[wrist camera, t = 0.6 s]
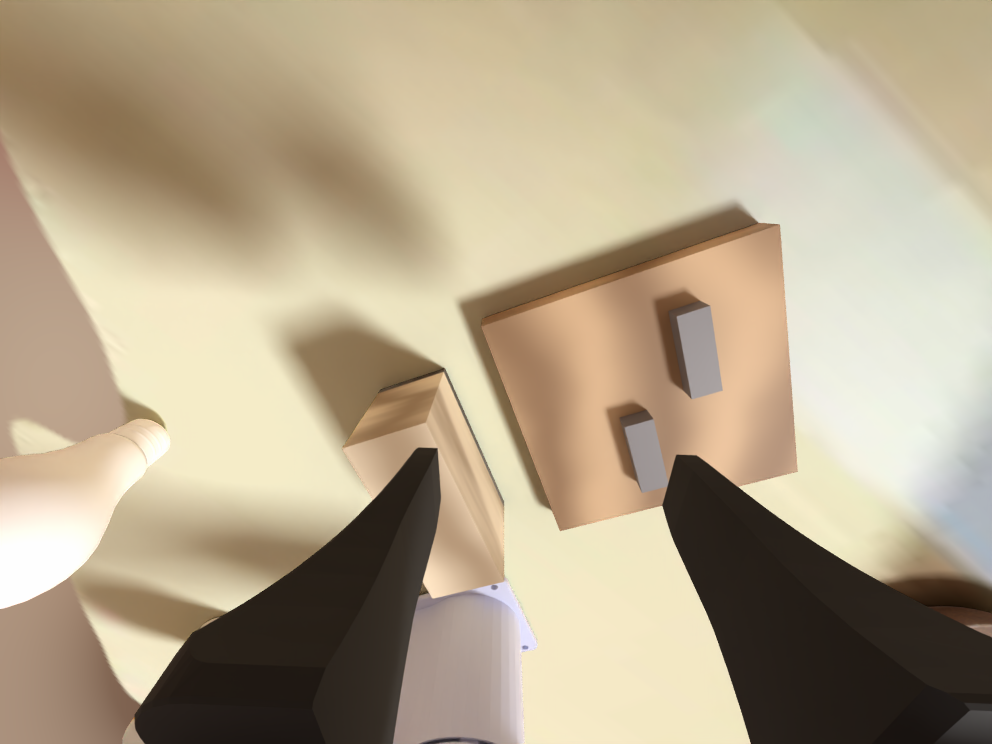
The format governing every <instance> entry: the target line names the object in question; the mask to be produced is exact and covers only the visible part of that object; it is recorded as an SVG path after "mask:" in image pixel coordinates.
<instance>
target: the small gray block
mask: <svg viewBox="0 0 992 744" xmlns="http://www.w3.org/2000/svg"><path fill="white" fill-rule="evenodd" d="M620 422H621V426H622V430H623V433H624V437H625V441H626V444H627V448H628V452H629V456H630V459H631V463H632V467H633V470H634V474H635V478H636V482H637V484H638V486H639V488H640V490H641V492H642V493H644V492H648V491H652V490H656V489H660V488H664V487H667V486H668V479H667V475H666V471H665V466H664V462H663V458H662V453H661V449H660V445H659V440H658V436H657V432H656V427H655V423H654V419H653V418H652V416H651V415H650V413H649V412H648V410H644V411H641V412H637V413H634V414H630V415H627V416H623V417H620Z"/></svg>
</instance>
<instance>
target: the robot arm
mask: <svg viewBox="0 0 992 744" xmlns="http://www.w3.org/2000/svg"><path fill="white" fill-rule="evenodd" d="M440 503H441V489H440V474H439V459H438V448H422V447H418V448H417V449H415V450H414V452H413V453H412V454H411V456H410V457H409V458H408V460H407V461H406V462H405V463H404V465H403V466H402V467H401V468H400V470H399V471H398V472H397V473H396V474H395V476H394V477H393V478H392V479H391V480H390V482H389V483H388V484H387V485H386V486H385V487H384V488H383V490H382V491H381V492H380V493H379V494H378V495H377V496H376V497H375V498H374V500H373V501H372V502H371V503H370V504H369V505H368V506H367V507H366V508H365V509H364V510H363V511H362V512H361V513H360V514H359V515H358V516H357V517H356V518H355V519H354V520H353V521H352V522H351V523H350V524H349V525H348V526H346V527H345V528H344V529H343V530H342V531H341V532H340V533H339V534H338V535H336V536H335V537H334V538H333V539H332V540H331V541H330V542H328V543H327V544H326V545H325V546H324V547H322V548H321V549H320V550H319V551H317V552H316V553H315V554H314V555H312V556H311V557H310V558H309V559H307V560H306V561H305V562H303V563H302V564H301V565H299V566H298V567H297V568H296V569H294V570H293V571H291V572H290V573H289V574H287V575H286V576H284V577H283V578H281V579H280V580H278V581H277V582H276V583H274V584H273V585H271V586H270V587H268V588H267V589H265V590H264V591H262V592H260V593H259V594H257V595H256V596H254V597H253V598H251V599H250V600H248V601H246V602H245V603H243V604H242V605H240V606H238V607H236V608H235V609H233V610H231V611H230V612H228V613H226V614H224V615H223V616H221V617H219V618H218V619H216V620H214V621H212V622H211V623H209V624H207V625H206V626H204V627H202V628H200V629H198V630H197V631H195V632H193V633H192V634H191V635H190V637H189V638H188V639H187V641H186V642H185V643H184V644H183V646H182V647H181V648H180V650H179V651H178V652H177V653H176V655H175V656H174V658H173V659H172V661H171V662H170V664H169V665H168V667H167V668H166V670H165V671H164V672H163V674H162V675H161V677H160V678H159V680H158V681H157V683H156V684H155V686H154V687H153V689H152V690H151V691H150V693H149V694H148V696H147V697H146V699H145V700H144V702H143V703H142V705H141V706H140V708H139V709H138V711H137V712H136V714H135V730H136V732H137V733H138V735H139V737H140V739H141V740H142V741H143V742H144V743H145V744H525V742H524V715H523V688H522V661H521V652H525V651H530V650H534V649H536V648H537V639H536V637H535V635H534V633H533V631H532V629H531V627H530V625H529V623H528V621H527V619H526V617H525V615H524V613H523V611H522V609H521V607H520V604H519V602H518V600H517V598H516V596H515V594H514V592H513V590H512V588H511V586H510V584H509V582H508V580H507V579H506V578H505V577H504V582H501V583H497V584H493V585H489V586H484V587H480V588H476V589H472V590H468V591H463V592H459V593H455V594H451V595H446V596H442V597H438V598H434V599H433V598H432V597H431V595H430V593H428V594H423V595H419V593H420V590H421V586H422V582H423V579H424V575H425V571H426V568H427V564H428V560H429V556H430V553H431V549H432V545H433V541H434V538H435V534H436V530H437V523H438V517H439V510H440ZM662 506H663V509H664V513H665V516H666V520H667V523H668V526H669V529H670V532H671V535H672V538H673V540H674V543H675V545H676V547H677V549H678V552H679V554H680V556H681V558H682V561H683V563H684V565H685V567H686V569H687V571H688V574H689V576H690V578H691V580H692V582H693V584H694V587H695V589H696V591H697V593H698V595H699V597H700V600H701V602H702V604H703V606H704V608H705V610H706V613H707V615H708V617H709V620H710V622H711V625H712V627H713V629H714V632H715V635H716V638H717V641H718V643H719V646H720V649H721V652H722V655H723V658H724V661H725V663H726V666H727V669H728V672H729V675H730V678H731V681H732V684H733V687H734V690H735V694H736V697H737V700H738V703H739V706H740V709H741V712H742V715H743V719H744V722H745V725H746V729H747V732H748V735H749V739H750V742H751V744H992V637H990V636H988V635H985V634H983V633H981V632H979V631H976V630H974V629H972V628H970V627H968V626H966V625H964V624H962V623H960V622H958V621H956V620H954V619H951V618H949V617H947V616H945V615H943V614H941V613H939V612H937V611H935V610H933V609H931V608H929V607H927V606H925V605H923V604H921V603H919V602H917V601H915V600H913V599H911V598H910V597H908V596H906V595H904V594H902V593H900V592H898V591H896V590H894V589H893V588H891V587H889V586H887V585H885V584H884V583H882V582H880V581H878V580H876V579H875V578H873V577H871V576H869V575H867V574H865V573H864V572H862V571H860V570H859V569H857V568H855V567H853V566H852V565H850V564H848V563H847V562H845V561H843V560H842V559H840V558H839V557H837V556H835V555H834V554H832V553H831V552H829V551H827V550H826V549H824V548H823V547H821V546H819V545H818V544H816V543H815V542H813V541H812V540H810V539H809V538H807V537H806V536H804V535H803V534H801V533H800V532H798V531H797V530H795V529H794V528H793V527H791V526H790V525H788V524H787V523H785V522H784V521H783V520H781V519H780V518H778V517H777V516H776V515H774V514H773V513H772V512H770V511H769V510H767V509H766V508H765V507H763V506H762V505H761V504H759V503H758V502H757V501H755V500H754V499H753V498H752V497H750V496H749V495H748V494H746V493H745V492H744V491H743V490H741V489H740V488H739V487H737V486H736V485H735V484H734V483H732V482H731V481H730V480H729V479H727V478H726V477H725V476H723V475H722V474H721V473H720V472H718V471H717V470H716V469H715V468H713V467H712V466H711V465H709V464H708V463H707V462H705V461H704V460H703V459H701V458H700V457H699V456H697V455H676V457H675V460H674V464H673V468H672V471H671V475H670V479H669V482H668V486H667V490H666V493H665V497H664V501H663V504H662Z"/></svg>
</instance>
